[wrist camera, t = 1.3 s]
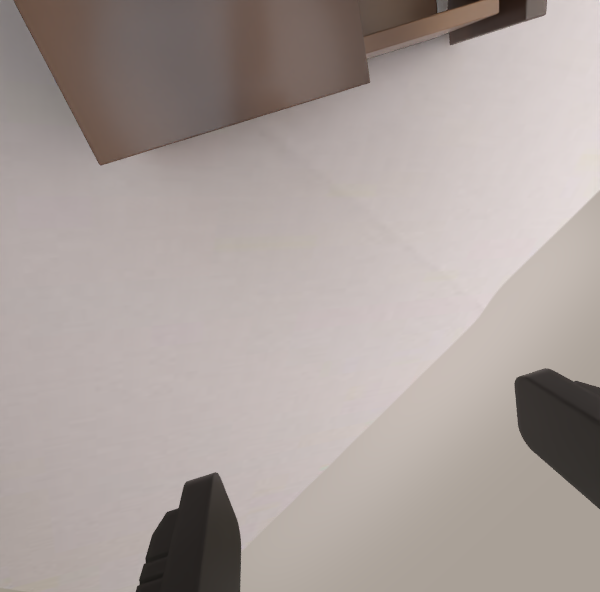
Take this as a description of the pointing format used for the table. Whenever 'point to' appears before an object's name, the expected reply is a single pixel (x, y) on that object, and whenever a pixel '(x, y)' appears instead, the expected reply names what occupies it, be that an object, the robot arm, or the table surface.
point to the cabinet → (191, 63)
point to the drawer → (438, 20)
